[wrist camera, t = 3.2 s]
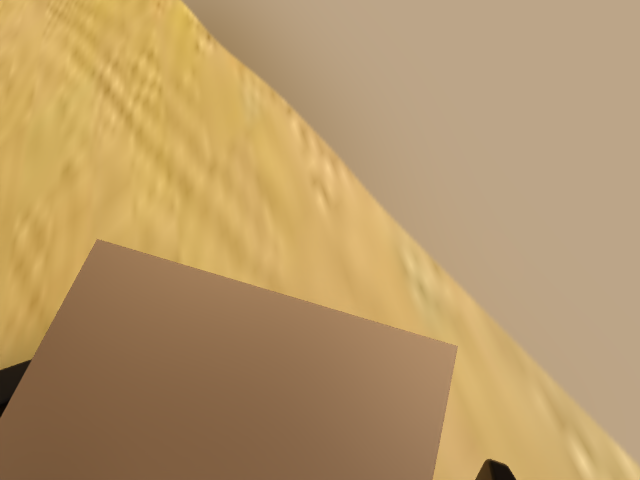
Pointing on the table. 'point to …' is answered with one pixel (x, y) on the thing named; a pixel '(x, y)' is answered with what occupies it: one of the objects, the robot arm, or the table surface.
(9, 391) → the robot arm
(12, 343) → the table surface
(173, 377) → the post
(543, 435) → the table surface
